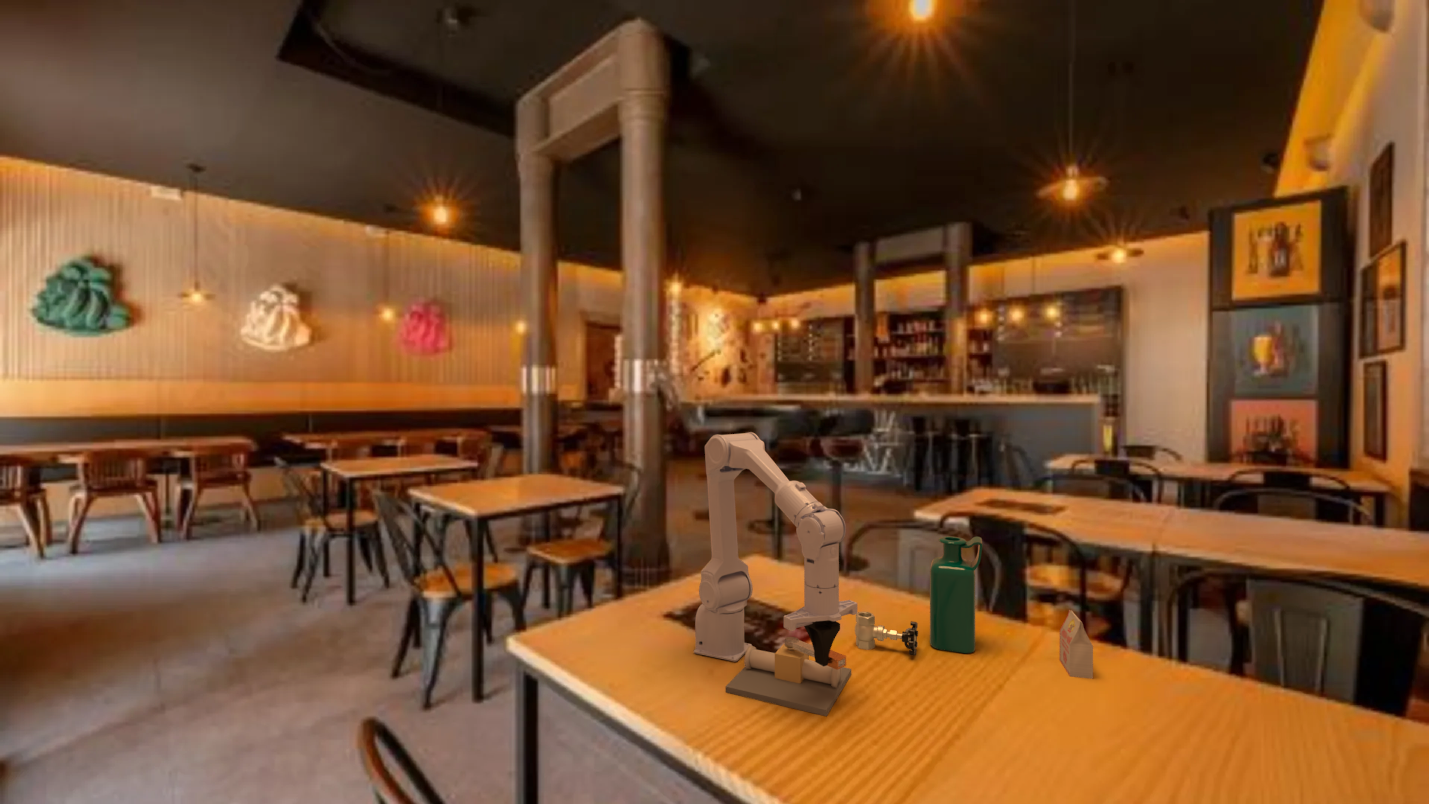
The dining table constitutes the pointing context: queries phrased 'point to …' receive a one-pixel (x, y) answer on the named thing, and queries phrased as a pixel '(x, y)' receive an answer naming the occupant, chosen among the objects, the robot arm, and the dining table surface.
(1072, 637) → the milk carton
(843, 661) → the valve lever
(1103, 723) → the dining table surface
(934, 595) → the pitcher
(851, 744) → the dining table surface
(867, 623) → the valve
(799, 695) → the pipe board
